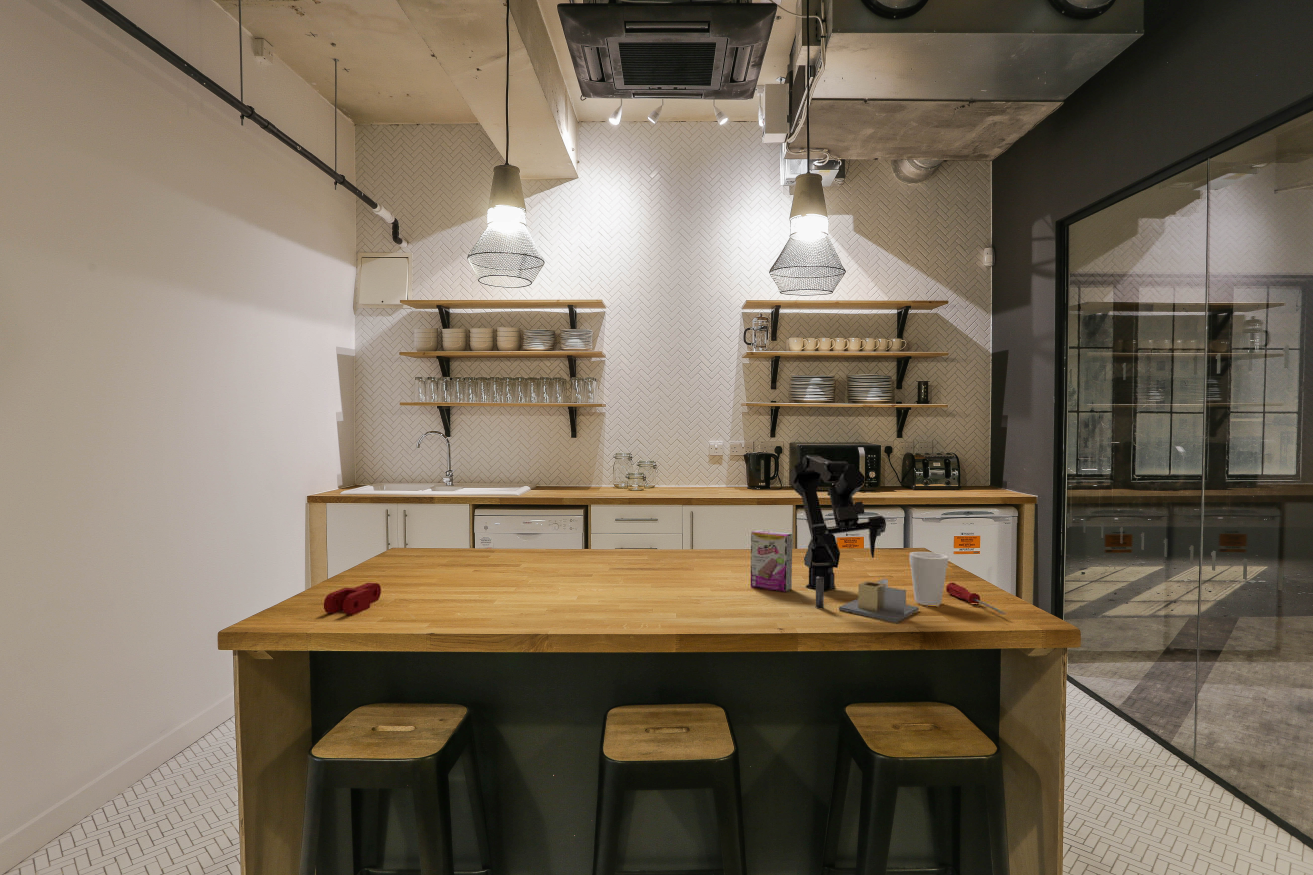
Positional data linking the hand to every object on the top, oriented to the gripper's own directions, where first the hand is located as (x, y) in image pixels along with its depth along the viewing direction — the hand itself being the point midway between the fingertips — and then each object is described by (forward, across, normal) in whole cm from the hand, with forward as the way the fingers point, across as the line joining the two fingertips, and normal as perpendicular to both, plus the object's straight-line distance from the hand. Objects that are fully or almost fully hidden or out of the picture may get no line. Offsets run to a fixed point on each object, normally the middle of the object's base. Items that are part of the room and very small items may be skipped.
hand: (854, 559), depth 165 cm
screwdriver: (+11, +30, +19) cm, 37 cm away
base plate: (+12, +4, +8) cm, 15 cm away
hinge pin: (+9, -11, +7) cm, 16 cm away
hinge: (+11, +6, +7) cm, 15 cm away
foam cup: (+9, +18, +18) cm, 27 cm away
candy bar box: (-1, -23, +21) cm, 31 cm away
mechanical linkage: (+4, -126, -23) cm, 128 cm away
